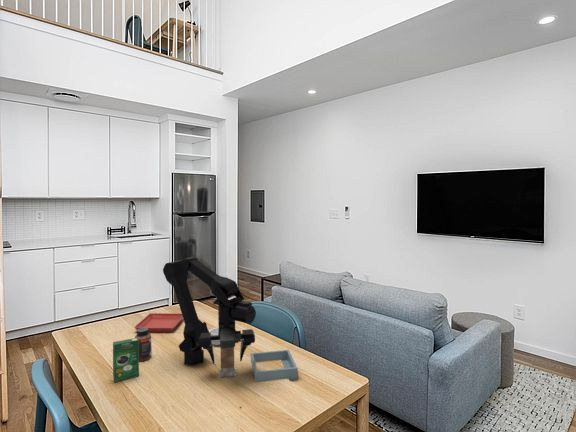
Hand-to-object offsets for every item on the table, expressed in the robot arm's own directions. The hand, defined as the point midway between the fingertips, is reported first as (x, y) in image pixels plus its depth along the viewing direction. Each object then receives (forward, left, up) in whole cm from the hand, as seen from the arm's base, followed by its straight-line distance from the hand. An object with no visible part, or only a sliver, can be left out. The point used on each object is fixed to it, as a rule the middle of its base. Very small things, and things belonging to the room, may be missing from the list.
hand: (227, 361), depth 124 cm
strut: (0, 0, -4) cm, 4 cm away
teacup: (-2, +27, -5) cm, 28 cm away
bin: (+16, 0, -5) cm, 17 cm away
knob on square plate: (0, 0, -5) cm, 5 cm away
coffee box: (-34, +6, -5) cm, 35 cm away
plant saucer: (-29, +53, -6) cm, 61 cm away
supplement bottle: (-31, +20, -5) cm, 37 cm away
